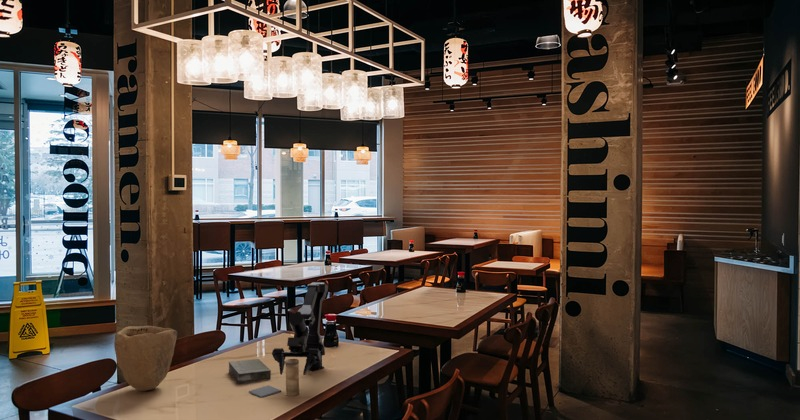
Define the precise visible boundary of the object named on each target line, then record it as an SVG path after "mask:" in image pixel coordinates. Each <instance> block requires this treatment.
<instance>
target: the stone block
mask: <svg viewBox="0 0 800 420" xmlns="http://www.w3.org/2000/svg"><path fill="white" fill-rule="evenodd" d="M228 373H229V374H230V376H231V377H232V378H233V379H234V380H235V382H236V383H237V384H238V385H243V384H249V383H254V382H260V381H266V380H271V375H272V374H271V373H272V370H271V369H270V368H269V367H268V366H267V365H266V364H265V363H264V362H263V361H261V360H260V359H259V358H254V359H243V360H232V361H228Z"/></svg>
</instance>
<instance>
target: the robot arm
mask: <svg viewBox="0 0 800 420" xmlns="http://www.w3.org/2000/svg"><path fill="white" fill-rule="evenodd" d="M306 290H307V291H306V293H305V297H304V300H303V302H302V307H300V308H299V309H298V310H297V311H295V313H294V314H292V315H290V317H289V319H288V322H289V325H290V327H291V330H292V332H294V333H293V337H287V342H286V343H287V344H286V346H287V347H288V350H289V351H285V349H284V348H282V347H281V348H280V347H278V348H277V347H274V348H273V349H272V353H271V356H272V357H273V360H274V361H276V362H277V363H278V366H279V374H280V376H281V375H283V373H284V368H285V361H286V358H306V359H305V365H304V368H303V371H302V372H303V373H302V374H303V376H306V375H307V373H308V372H309V371H312V372H314V371H319V370H322V369H325V366H323V356H325V355H326V349H325V345H324V343H323V339H322V336H321V333H320V328H321V316H322V306H323V305H322V304H323V301H324V300H325V298H327V293H328V290H329V287H328V284H326V282H321V281H318V282H316V281H314V282H311V283H309V284H307V287H306Z"/></svg>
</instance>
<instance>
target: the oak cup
mask: <svg viewBox="0 0 800 420" xmlns="http://www.w3.org/2000/svg"><path fill="white" fill-rule="evenodd" d="M284 361H285V365H284V367H285V395H286V396H287V397H296V396H299V395H300V382H299V381H300V377H299V376H300V369H299V367H300V366H299V364H300V360H299V359H298V358H289V359H285V360H284Z"/></svg>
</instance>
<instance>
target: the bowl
mask: <svg viewBox="0 0 800 420" xmlns="http://www.w3.org/2000/svg"><path fill="white" fill-rule="evenodd" d="M177 339H178V331H177V330H175V329H173V328H171V327H160V326H154V325H143V326H142V325H139V326H137V325H135V326H134V325H133V326H132V325H131V326H129V325H128V326H125V327H123V328H122V329H121V330H119V331H117V332H116V333H115V335H114V343H113V345H114V352H115V356H116V361H117V365H118V367H119V369H120V370H121V372H122V375H123V379H124V380H125V381H126V383H128V385H129V386H130V387H131V388H133V389H135V390H138V391H141V392H145V391H150V390H155V389H156V388H158V386H159V385H160V384H161V383H162V382H163V381H164V380H165V378H166V377H167V375H168V373H169V372H170V368H171V364H172V359H173V357H174V353H175V347H176V344H177V342H176V341H177Z"/></svg>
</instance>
